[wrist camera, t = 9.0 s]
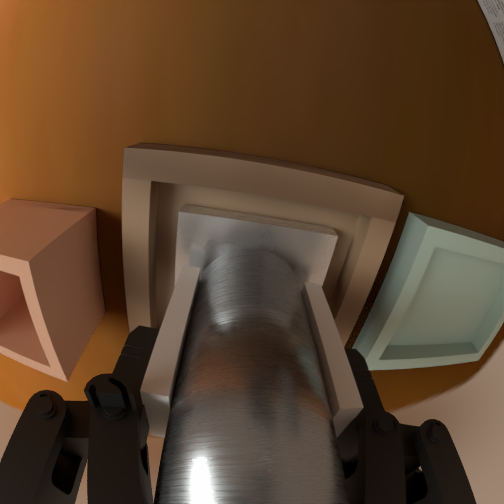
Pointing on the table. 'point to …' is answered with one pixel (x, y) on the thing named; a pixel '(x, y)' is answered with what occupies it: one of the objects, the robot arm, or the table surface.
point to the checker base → (251, 202)
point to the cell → (250, 395)
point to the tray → (435, 298)
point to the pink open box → (48, 284)
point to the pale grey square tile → (252, 240)
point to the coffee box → (495, 20)
